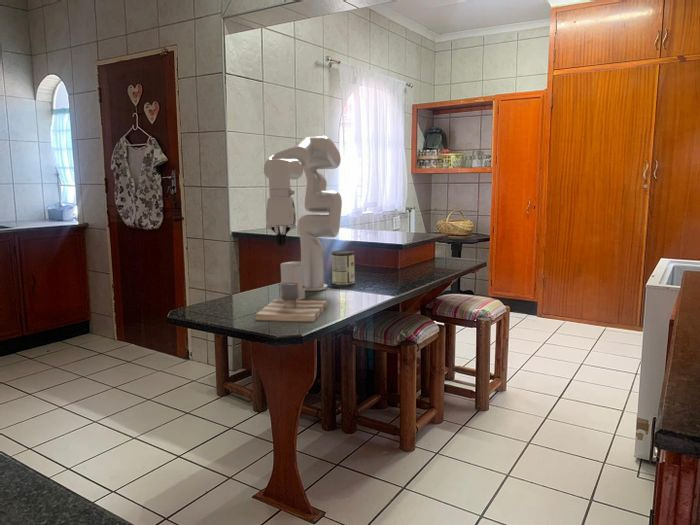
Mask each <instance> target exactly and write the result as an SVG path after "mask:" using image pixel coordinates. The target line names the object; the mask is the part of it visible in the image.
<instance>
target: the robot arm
mask: <svg viewBox="0 0 700 525" xmlns="http://www.w3.org/2000/svg"><path fill="white" fill-rule="evenodd" d="M341 160H342V158H341V154H340V150H339V149H338V148H337V146H336V144H335V143H334V142H333V140H331V138H330V137H327V136H325V135H322V136H306V137H303V138H301V139H299V140H298V142H297V143H296V144H294V145H293V146H292V147H289V148H287V149H283V150H281V151H280V150H279V151H278V152H275V153H273V154H271V155H270V156H269V157H268V158H267V159H266V161H265V163H264V165H263V174H264V176H265V177H266V178H267V179H268V192H269V197H268V198H267V201H266V208H265V209H266V211H265V223H266V226H265V229H267V230H271V231H272V232H274V234H275V235H276V236H275V237H276V244H277V247H278V246H281V247H282V246H285V245H286V243H287V234H288V233H289V232H290V231H291V230H294V229H296V228H298V233H299V234H298V235H299V240H300V242H299V243H300V262H304V282H305V292H317V291H325V290H327V289H328V288H329V287H328V284H326V283H325V272H324V270H325V268H324V267H325V266H324V263H325V262H324V261H325V260H324V246H323V244H322V243H321V241H320V240H319V238H336V237H337V236H338V234H339V232H340V227H341V226H340V225H341V218H342V206H343V200H342V196H341V194H340V193H339V192H338V191H336V190H327V184H328V183H327V179H326V177H325V176H324V175H323V174H322V172H321V171H320V170H335V169H337V168H339V166H340V164H341ZM303 173H304V174H305V178H306V188H305V195H304V196H305V197H304V209H305V211H306V212H307V213H311V214H305V215H302V216H300V218H299V219H298V221H297V214H296V206H295V202H294V197H292V195H295V192H296V191H295V190H292V189H291V180H299V178H301V177H302V175H303ZM296 222H297V226H296ZM280 227H282V228H280ZM281 229H282V231H281Z"/></svg>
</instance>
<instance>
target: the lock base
mask: <svg viewBox="0 0 700 525" xmlns="http://www.w3.org/2000/svg"><path fill="white" fill-rule="evenodd" d="M327 306H328V303H327V300H314V299H313V300H307V299H306V300H305V299H301V300H296V299H294V300H282V299H273V300H272V301H271V302H269V303H268V304H267V305H266V306H264V307H263V308H262V309H261V310H259V311H257V312H256V314H255V320H256V321H275V322H276V321H277V322H279V321H280V322H281V321H283V322H286V321H287V322H313V323H314V322H315V321H316V320H317V319H318V317H319V316H320V315H321V314H322V312H323V311H324V310H325V309H326V307H327Z"/></svg>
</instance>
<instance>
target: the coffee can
mask: <svg viewBox="0 0 700 525" xmlns="http://www.w3.org/2000/svg"><path fill="white" fill-rule="evenodd" d="M331 270H332V271H331V272H332V273H331V275H332V277H331V278H332V284H333V285H339V286H340V285H341V286H342V285H343V286H344V285H347V286H348V285H353V284H355V283H356V282H355V277H356V275H355V251H354V250H348V249H344V250H343V249H342V250H341V249H340V250H334V251H331Z"/></svg>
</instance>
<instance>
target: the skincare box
mask: <svg viewBox="0 0 700 525" xmlns="http://www.w3.org/2000/svg"><path fill="white" fill-rule="evenodd" d="M288 282H300V287H299V288H298V299H296V300H305V299H306V291H305V282H304V262H301V261H287V262H286V261H285V262H282V263H280V283H281V284H282V283H288ZM281 284H280V285H281ZM281 300H284V299H281Z"/></svg>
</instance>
